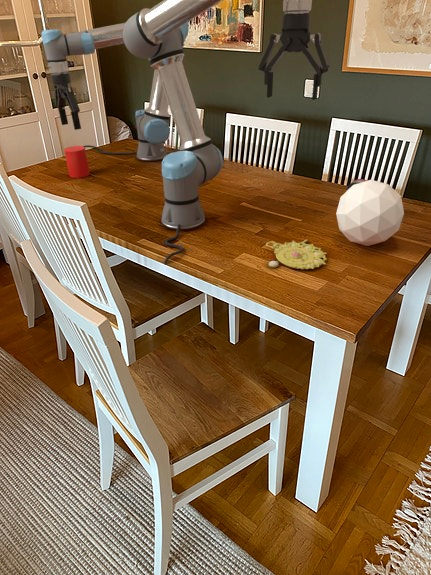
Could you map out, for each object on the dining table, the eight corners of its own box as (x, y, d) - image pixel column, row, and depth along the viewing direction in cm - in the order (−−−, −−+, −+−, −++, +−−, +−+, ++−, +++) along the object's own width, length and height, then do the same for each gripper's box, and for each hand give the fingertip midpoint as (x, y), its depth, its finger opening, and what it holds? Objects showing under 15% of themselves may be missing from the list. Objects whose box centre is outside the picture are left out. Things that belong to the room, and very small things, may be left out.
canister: (90, 171, 208) (86, 145, 202) (88, 177, 201) (83, 150, 194) (71, 172, 207) (65, 146, 201) (68, 178, 200) (62, 151, 193)
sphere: (372, 267, 139) (394, 238, 121) (318, 234, 144) (331, 202, 125) (402, 223, 144) (427, 189, 125) (348, 192, 149) (365, 155, 130)
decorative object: (309, 275, 120) (249, 251, 130) (307, 282, 121) (248, 258, 131) (343, 246, 133) (286, 226, 143) (341, 253, 134) (285, 233, 145)
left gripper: (39, 72, 188) (52, 124, 199) (63, 76, 171) (75, 133, 182) (56, 69, 191) (67, 121, 203) (81, 74, 175) (91, 129, 186)
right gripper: (346, 11, 117) (337, 97, 128) (257, 13, 126) (256, 93, 137) (340, 12, 111) (331, 102, 122) (248, 14, 120) (247, 97, 132)
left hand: (71, 126), depth 193 cm, fingers open, 13 cm apart
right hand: (291, 98), depth 130 cm, fingers open, 13 cm apart
